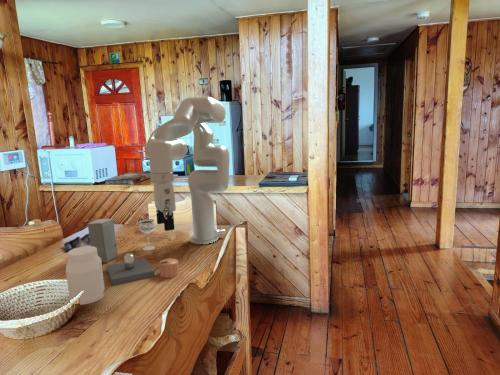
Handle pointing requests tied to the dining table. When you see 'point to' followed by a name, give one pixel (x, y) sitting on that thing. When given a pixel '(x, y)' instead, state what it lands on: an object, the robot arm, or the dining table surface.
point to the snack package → (77, 243)
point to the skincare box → (103, 238)
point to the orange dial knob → (168, 268)
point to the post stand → (129, 270)
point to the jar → (85, 274)
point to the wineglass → (147, 230)
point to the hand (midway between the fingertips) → (165, 226)
